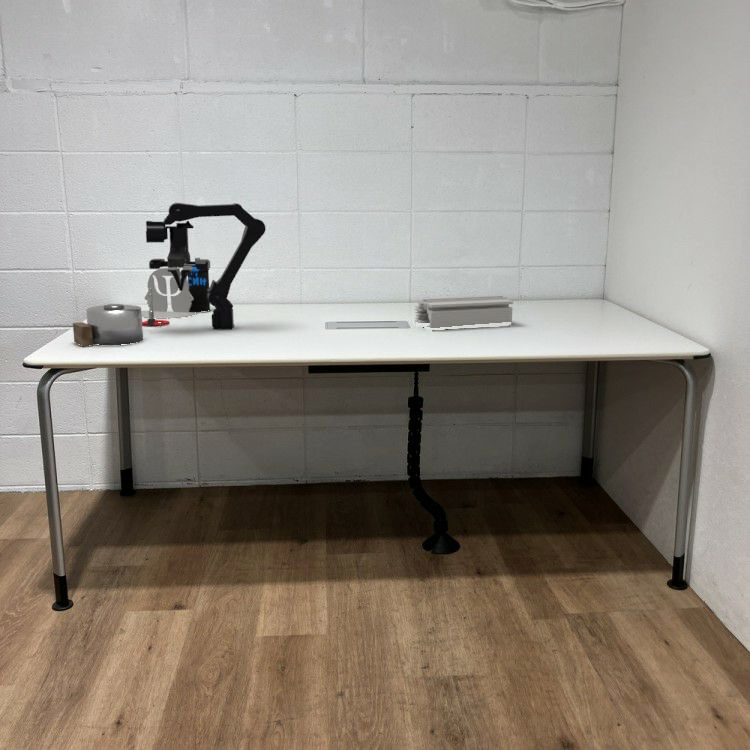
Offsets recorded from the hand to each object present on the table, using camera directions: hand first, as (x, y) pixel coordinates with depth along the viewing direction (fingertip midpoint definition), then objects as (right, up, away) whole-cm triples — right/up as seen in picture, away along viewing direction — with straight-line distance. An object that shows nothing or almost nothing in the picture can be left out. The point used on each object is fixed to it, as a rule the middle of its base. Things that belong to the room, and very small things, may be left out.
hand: (181, 290), depth 261 cm
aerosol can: (-3, -4, +40) cm, 40 cm away
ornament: (-14, -6, +29) cm, 33 cm away
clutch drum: (-16, -17, -15) cm, 28 cm away
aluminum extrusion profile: (+94, -11, +17) cm, 96 cm away
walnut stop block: (-24, -18, -21) cm, 37 cm away
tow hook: (-12, -11, +13) cm, 20 cm away
